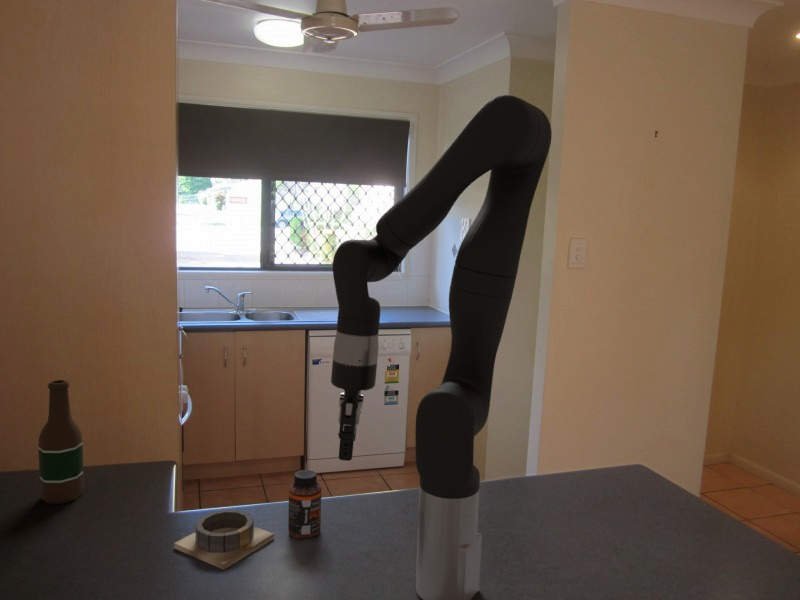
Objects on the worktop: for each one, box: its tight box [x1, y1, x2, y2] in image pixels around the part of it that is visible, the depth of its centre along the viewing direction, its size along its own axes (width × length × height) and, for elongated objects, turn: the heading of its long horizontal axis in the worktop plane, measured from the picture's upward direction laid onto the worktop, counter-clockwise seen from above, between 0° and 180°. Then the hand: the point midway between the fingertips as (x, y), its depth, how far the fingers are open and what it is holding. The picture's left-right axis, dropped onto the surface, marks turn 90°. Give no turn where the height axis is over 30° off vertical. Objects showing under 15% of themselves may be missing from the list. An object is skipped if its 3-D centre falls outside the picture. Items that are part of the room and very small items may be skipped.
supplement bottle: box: [288, 469, 322, 540], centre depth 113 cm, size 6×6×11 cm
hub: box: [173, 509, 275, 571], centre depth 108 cm, size 12×12×4 cm
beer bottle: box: [38, 379, 85, 505], centre depth 123 cm, size 8×8×24 cm
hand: (347, 449), depth 105 cm, fingers open, 8 cm apart
